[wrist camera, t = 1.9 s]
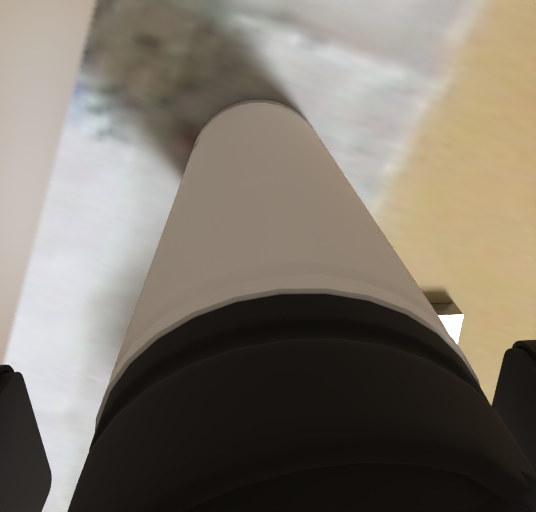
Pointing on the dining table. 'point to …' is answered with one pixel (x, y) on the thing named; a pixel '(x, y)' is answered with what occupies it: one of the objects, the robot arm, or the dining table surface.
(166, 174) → the dining table surface
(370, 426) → the travel mug
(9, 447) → the robot arm
